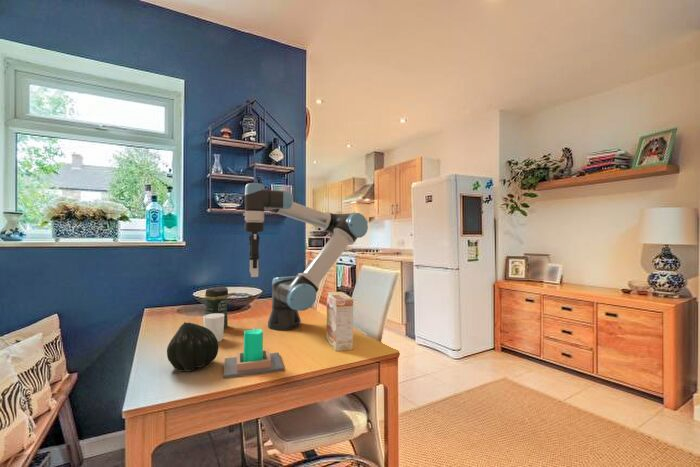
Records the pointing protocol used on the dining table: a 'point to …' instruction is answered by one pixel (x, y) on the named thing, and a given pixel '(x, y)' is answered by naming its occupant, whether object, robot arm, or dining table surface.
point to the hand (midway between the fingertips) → (253, 274)
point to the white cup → (215, 324)
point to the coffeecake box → (340, 321)
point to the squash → (192, 347)
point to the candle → (253, 345)
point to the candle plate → (252, 365)
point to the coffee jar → (217, 302)
